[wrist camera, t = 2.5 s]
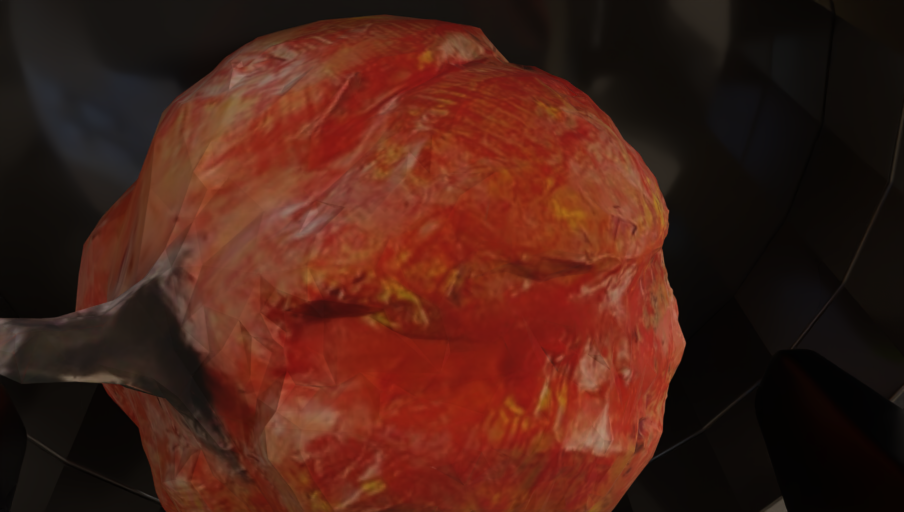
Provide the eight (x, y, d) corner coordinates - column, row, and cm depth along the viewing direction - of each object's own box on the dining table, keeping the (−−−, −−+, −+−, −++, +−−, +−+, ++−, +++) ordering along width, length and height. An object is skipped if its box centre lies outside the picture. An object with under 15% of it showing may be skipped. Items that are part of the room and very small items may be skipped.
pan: (712, 439, 18) (796, 615, 15) (51, 473, 17) (-38, 678, 13) (1059, -435, 8) (1561, -554, 5) (-446, -545, 7) (-1318, -836, 3)
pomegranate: (620, 41, 13) (189, -426, 5) (833, 399, 11) (737, 704, 3) (345, 236, 17) (-219, 161, 8) (471, 546, 14) (-112, 906, 6)
